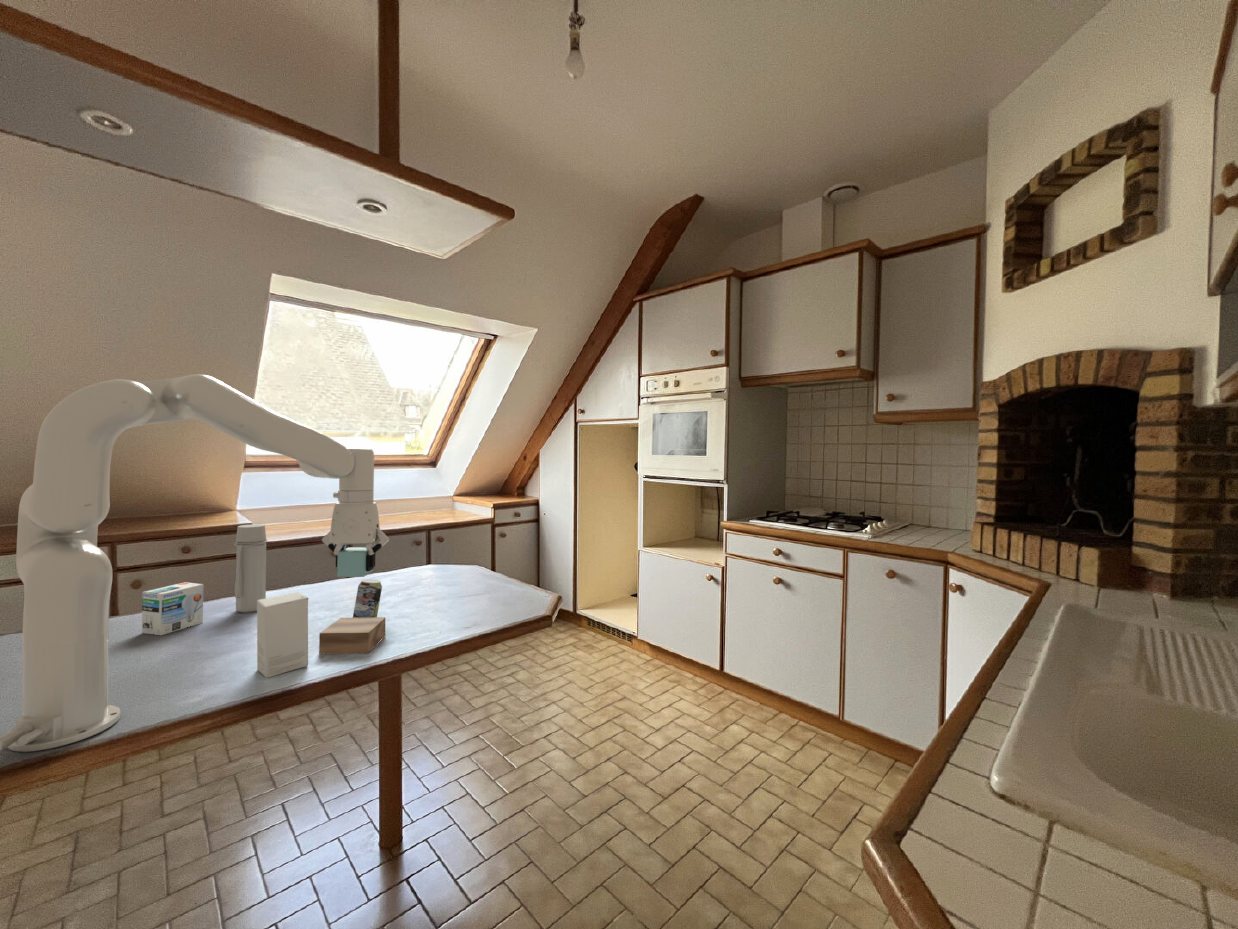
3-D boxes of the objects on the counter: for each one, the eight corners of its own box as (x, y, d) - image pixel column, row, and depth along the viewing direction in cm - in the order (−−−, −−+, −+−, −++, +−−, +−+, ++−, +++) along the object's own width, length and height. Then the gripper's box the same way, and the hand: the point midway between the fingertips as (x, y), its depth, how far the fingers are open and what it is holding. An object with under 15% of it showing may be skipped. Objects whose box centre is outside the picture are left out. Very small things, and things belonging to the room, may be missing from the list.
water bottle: (247, 605, 149) (248, 523, 149) (272, 606, 149) (274, 524, 149) (222, 615, 140) (223, 528, 140) (248, 616, 140) (250, 529, 139)
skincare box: (298, 658, 113) (299, 591, 112) (309, 667, 108) (310, 597, 108) (254, 670, 106) (255, 598, 106) (264, 679, 102) (265, 605, 102)
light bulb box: (160, 636, 124) (161, 593, 123) (140, 633, 125) (140, 591, 125) (204, 622, 134) (205, 583, 134) (184, 620, 135) (185, 581, 135)
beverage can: (347, 624, 135) (348, 581, 135) (371, 617, 142) (372, 576, 141) (362, 629, 132) (362, 584, 132) (386, 621, 139) (386, 579, 138)
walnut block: (368, 653, 116) (368, 632, 116) (319, 654, 115) (319, 633, 115) (385, 636, 127) (385, 617, 127) (340, 637, 126) (340, 617, 126)
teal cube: (363, 576, 119) (363, 552, 118) (337, 577, 118) (337, 552, 118) (373, 571, 124) (373, 547, 124) (348, 571, 124) (348, 547, 124)
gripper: (311, 498, 116) (310, 574, 116) (387, 499, 118) (386, 573, 118) (326, 495, 123) (326, 566, 124) (398, 496, 125) (397, 566, 126)
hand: (355, 569), depth 121 cm, fingers closed on teal cube, 6 cm apart
